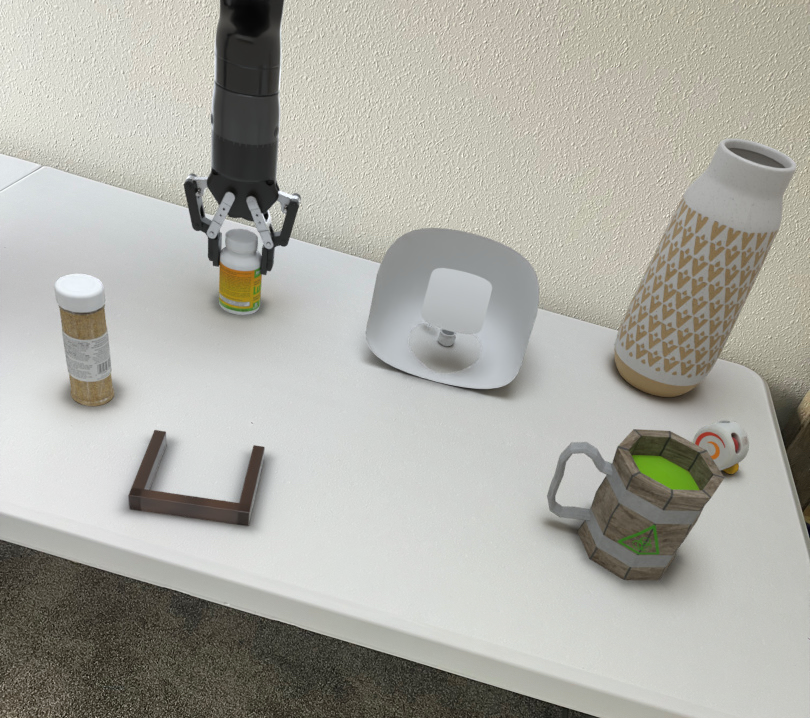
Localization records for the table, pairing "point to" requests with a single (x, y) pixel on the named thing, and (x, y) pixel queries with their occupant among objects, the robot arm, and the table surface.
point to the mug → (641, 501)
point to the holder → (191, 505)
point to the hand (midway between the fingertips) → (240, 267)
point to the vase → (703, 269)
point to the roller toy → (724, 444)
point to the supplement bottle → (240, 273)
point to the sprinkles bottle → (85, 338)
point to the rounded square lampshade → (454, 303)
